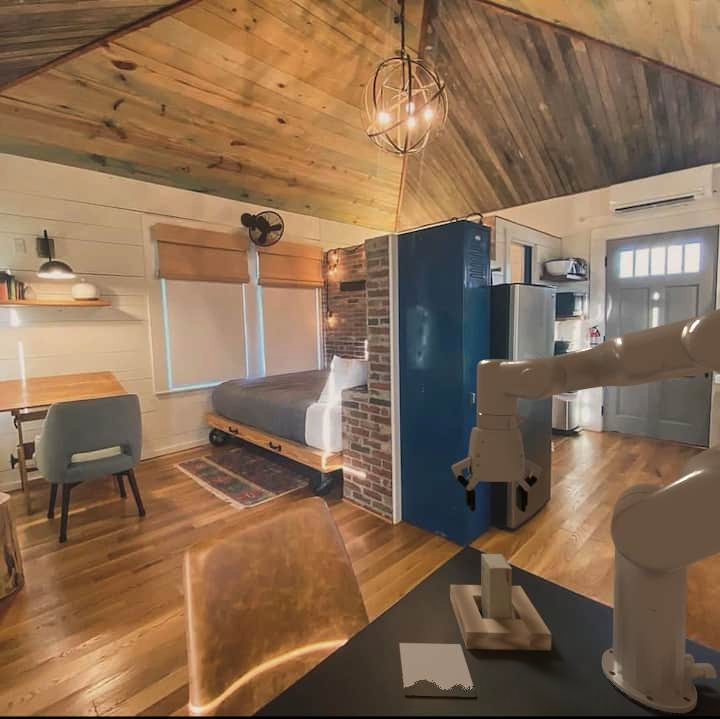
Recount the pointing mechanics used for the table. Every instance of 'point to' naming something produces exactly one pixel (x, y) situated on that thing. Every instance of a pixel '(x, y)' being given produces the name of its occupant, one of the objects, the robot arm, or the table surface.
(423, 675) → the mat
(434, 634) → the table surface
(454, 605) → the holder
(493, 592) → the skincare box
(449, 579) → the table surface
